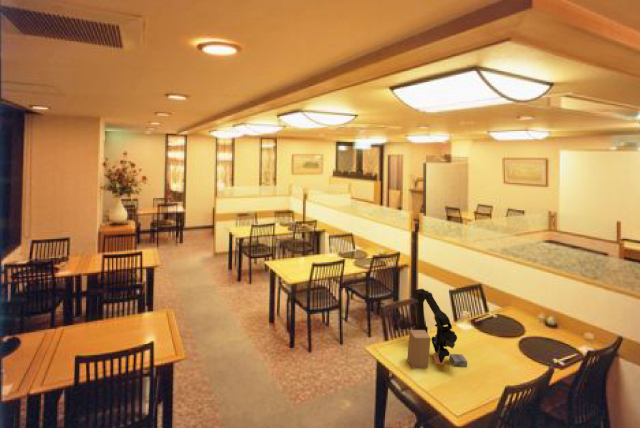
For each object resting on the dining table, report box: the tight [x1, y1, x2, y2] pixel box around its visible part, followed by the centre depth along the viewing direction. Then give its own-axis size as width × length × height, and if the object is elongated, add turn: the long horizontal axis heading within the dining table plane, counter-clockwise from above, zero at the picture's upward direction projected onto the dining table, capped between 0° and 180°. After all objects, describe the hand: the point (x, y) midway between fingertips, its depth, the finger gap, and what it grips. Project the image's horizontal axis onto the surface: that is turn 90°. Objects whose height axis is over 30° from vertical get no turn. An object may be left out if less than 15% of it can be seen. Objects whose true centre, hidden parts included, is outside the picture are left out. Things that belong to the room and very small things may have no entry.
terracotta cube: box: [433, 352, 445, 365], centre depth 227 cm, size 5×5×5 cm
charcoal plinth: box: [448, 353, 468, 368], centre depth 227 cm, size 8×8×4 cm
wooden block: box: [406, 329, 432, 369], centre depth 223 cm, size 10×10×20 cm
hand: (438, 358), depth 227 cm, fingers open, 9 cm apart
